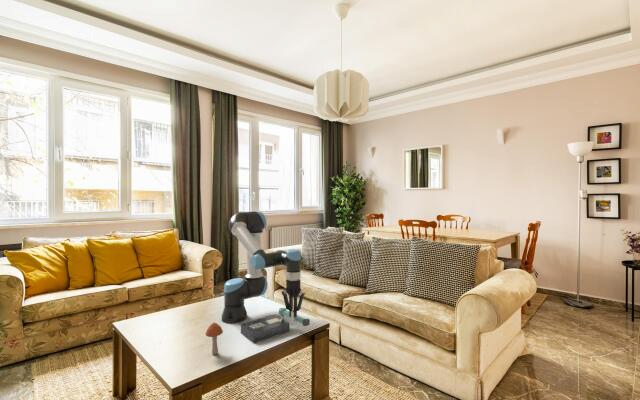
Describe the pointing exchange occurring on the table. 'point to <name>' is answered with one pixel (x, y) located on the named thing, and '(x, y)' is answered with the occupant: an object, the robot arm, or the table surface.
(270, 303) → the table surface
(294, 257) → the robot arm
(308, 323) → the green knobbed rod
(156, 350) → the table surface
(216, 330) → the mushroom
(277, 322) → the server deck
